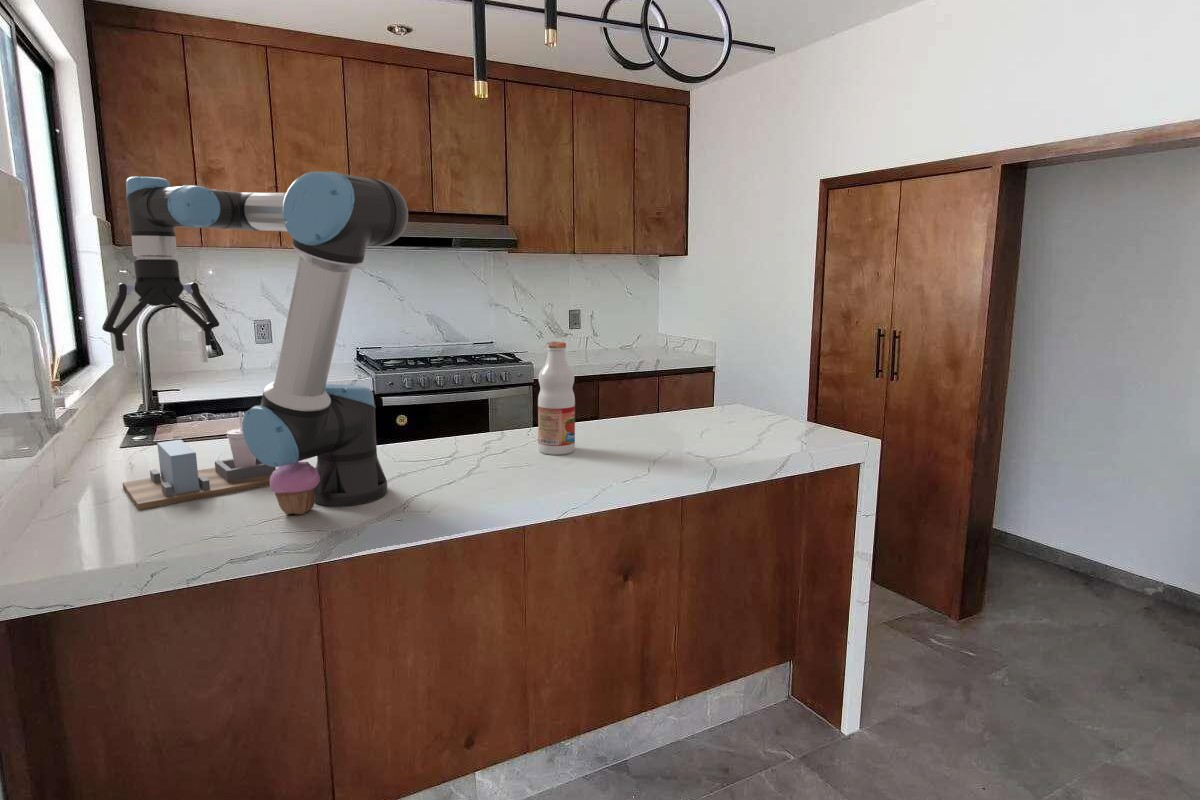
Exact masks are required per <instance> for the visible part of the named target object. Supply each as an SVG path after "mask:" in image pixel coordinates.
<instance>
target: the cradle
mask: <svg viewBox="0 0 1200 800" xmlns="http://www.w3.org/2000/svg"><path fill="white" fill-rule="evenodd" d="M214 468H215V471H216V473H217V474H218V475H220V476H221V477H222V478H223V479H224V480H226V481H227V482H233V481H238V480H244V479H250V478H255V477H261V476H267V475H272V473H273V471H274V470H276V469H277V467H271V466H268V465H265V464H263V463H262V462H260V461H259V460H258V459H257V458H256V465H251V466H245V467H239V468H235V464H234V459H233V458H227V459H221V460H215V461H214Z"/></svg>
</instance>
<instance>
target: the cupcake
mask: <svg viewBox="0 0 1200 800" xmlns="http://www.w3.org/2000/svg"><path fill="white" fill-rule="evenodd" d="M319 482H320V476H319V473H318V471H317V470H316V467H314V466H313V465H312V464H311V463H310V462H308V461H298V462H296V463H294V464H292V465H284V466H280V467H276V470H274V471H273V473H272V475H271V477H270V486H269V488H270V490H271V492H272V493H274V494H275V498H276V500H277V502H278V503H277V504H278V506H279V508H280V510H282V512H283V513H284V514H285V515H291V514H295V515H304V514H306V513H308V512H309V511H311V510H312V509H313V508H314V506H315V502H314V489H315V487H316V486H317V485H318V484H319Z"/></svg>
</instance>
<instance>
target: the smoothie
mask: <svg viewBox="0 0 1200 800" xmlns="http://www.w3.org/2000/svg"><path fill="white" fill-rule="evenodd" d="M242 413H243V412H242V411H238V417H239V418H238V419H239V427H238V428H233V429H229V430H227V431H226V437H227V438H228V442H229V445H230V450H231V456H232V459H234V464H235V468H239V467H245V466H251V465H256V457H255V456H254V455H253V454H252V452H251V451H250V450H249V447H248V445H247V444H246V442H245V439H244V435H243V430H242V422H243V414H242Z"/></svg>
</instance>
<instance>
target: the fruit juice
mask: <svg viewBox="0 0 1200 800" xmlns="http://www.w3.org/2000/svg"><path fill="white" fill-rule="evenodd" d="M546 350H547V357H546V359H545V363H544V365H543V366H542V368H541V369H540V371H539V373H538V383H539V387H540V389H539V393H538V397H537V413H538V414H537V418H538V419H537V420H538V421H537V424H538V427H537V429H538V430H537V431H538V432H537V435H538V443H537V445H538V451H539V452H540V453H542V454H545V455H551V456H560V455H561V456H562V455H567V454H568V455H569V454H571V453H573V452H574V451H575V448H576V399H575V398H576V397H575V393H574V390H573V386H574V383H575V374H574V372H573V370H572V368H571V367H570V365H569V364H568V362H567V357H566V351H565V350H567V343H566V342H564V341H548V342H547V343H546Z"/></svg>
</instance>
